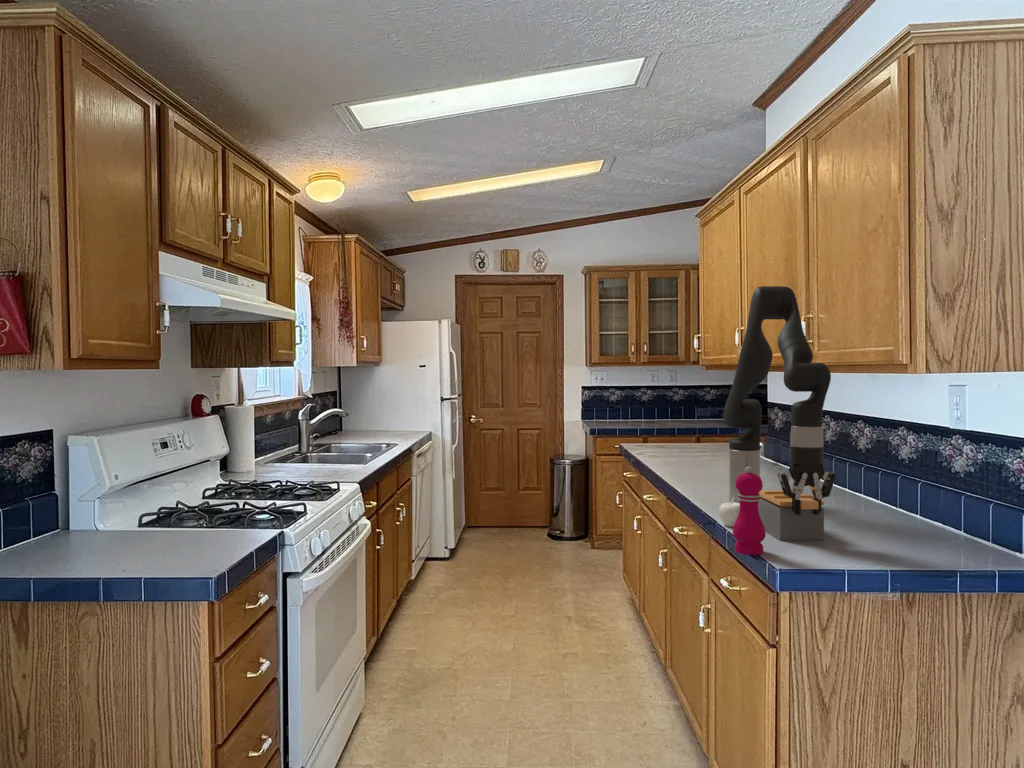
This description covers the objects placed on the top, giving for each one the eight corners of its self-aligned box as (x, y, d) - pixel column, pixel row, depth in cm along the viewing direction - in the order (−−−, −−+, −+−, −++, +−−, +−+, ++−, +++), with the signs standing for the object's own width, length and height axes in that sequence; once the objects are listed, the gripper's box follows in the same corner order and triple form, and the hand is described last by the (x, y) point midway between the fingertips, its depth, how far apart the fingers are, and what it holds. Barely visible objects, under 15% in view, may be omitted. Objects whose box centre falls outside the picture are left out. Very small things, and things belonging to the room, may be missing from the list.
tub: (755, 526, 186) (755, 496, 186) (795, 525, 187) (795, 496, 187) (780, 540, 170) (780, 508, 170) (823, 540, 171) (823, 508, 171)
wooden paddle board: (755, 497, 186) (755, 487, 186) (795, 496, 187) (795, 487, 187) (787, 512, 166) (787, 502, 166) (832, 512, 166) (832, 501, 166)
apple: (725, 528, 184) (725, 499, 183) (714, 523, 191) (714, 494, 190) (750, 528, 184) (750, 498, 184) (739, 522, 191) (739, 493, 191)
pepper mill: (726, 549, 162) (726, 465, 162) (749, 546, 165) (750, 463, 165) (747, 557, 155) (747, 469, 155) (772, 553, 158) (772, 467, 158)
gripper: (828, 442, 172) (827, 510, 172) (771, 443, 171) (771, 511, 172) (843, 445, 164) (842, 517, 164) (784, 446, 164) (784, 517, 164)
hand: (806, 513), depth 168 cm, fingers closed on wooden paddle board, 4 cm apart
